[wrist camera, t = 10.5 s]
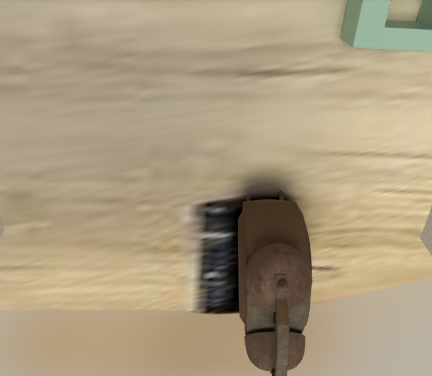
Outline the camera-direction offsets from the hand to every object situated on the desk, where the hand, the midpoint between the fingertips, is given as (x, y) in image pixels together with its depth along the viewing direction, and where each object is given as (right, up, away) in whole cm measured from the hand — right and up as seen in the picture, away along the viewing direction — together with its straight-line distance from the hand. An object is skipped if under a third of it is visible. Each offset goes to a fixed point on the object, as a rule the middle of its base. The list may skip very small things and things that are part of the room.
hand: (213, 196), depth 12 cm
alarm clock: (+6, -4, +38) cm, 39 cm away
